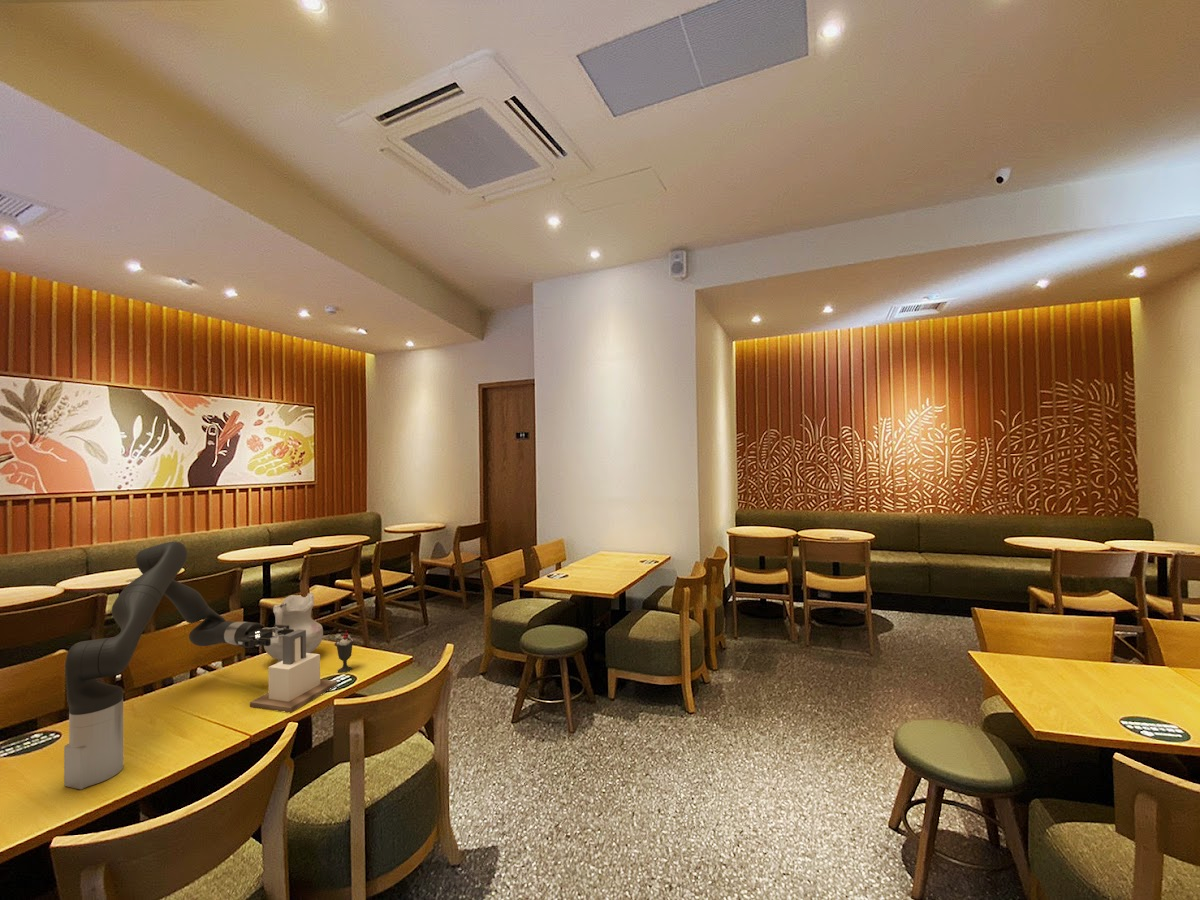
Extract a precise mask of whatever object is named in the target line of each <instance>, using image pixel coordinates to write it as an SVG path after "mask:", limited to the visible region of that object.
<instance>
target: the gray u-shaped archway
mask: <svg viewBox="0 0 1200 900" xmlns="http://www.w3.org/2000/svg"><path fill="white" fill-rule="evenodd" d="M299 637H300V646H301V659H304V658H306V630H300V629H298V630H296V631H293V632H291V633H288V634H286V635H283V664H288V665H291V664H293V640H294V639H297V638H299Z"/></svg>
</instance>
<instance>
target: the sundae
mask: <svg viewBox="0 0 1200 900" xmlns="http://www.w3.org/2000/svg"><path fill="white" fill-rule="evenodd" d="M347 631H348V630H347V629H346V630H345V632H344V633H343V634H342V635H341V636H340V638H339V640H338V641H335V643H334V644H333V645H334V647H336V649H337V656H338V659H339V660H340V661H341V662H342V667H340V668H339V669H337V671H338V672H337V673H339V672H345V673H348V672H347V671H349V672H351V671H352V670H353V669H354V667H353V666H348V659H350V658H351V656H352V653H353V652H352V650H353V645H354V643H355V642H356V640H355V639H354V638H352V637H351V635H350V634H349V633H348V632H347ZM350 670H351V671H350Z"/></svg>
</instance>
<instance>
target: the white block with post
mask: <svg viewBox="0 0 1200 900" xmlns="http://www.w3.org/2000/svg"><path fill="white" fill-rule="evenodd" d="M320 679H321V654H319V653H313V652H311V653H306V658H304V659H301V646H300V637H299V638H297V639H294V640H293V664H291V665H288V664H283V661H281V662H279V663H275V664H272V665H270V666H268V693H269V699H274V700H281V701H288V702H289V701H291V700H293V699H294V698H296V697H298V696H300V695H302V694H303V693H305V692H307V691H309V690H311V689H312V688H314V687H316V686H318V685H320Z"/></svg>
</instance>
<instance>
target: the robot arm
mask: <svg viewBox="0 0 1200 900" xmlns="http://www.w3.org/2000/svg"><path fill="white" fill-rule="evenodd" d="M187 559H188V550H187V547H186V546H185V545H184V544H183V543H181V542H179V541H168V542H163V543H160V544H156V545H153V546H150V547H149V546H148V547H146V548H142V550H139V552H138V553H137V554H136V558H135V563H136V566H137V569H138V570H139V571H140V573H141V575H139V576H138V577H137V578H135V579H134V580H132V581H131V582H130V583H128V584H127V585H126V586H125V587H124V588H123V589H122V590H121V592H120V593H119V595H118V596H117V597H116V599H115V601H114V602H113V604H112V606H111V616H112V618H113V620H114V622H115V623H116V624H117V626H118V627H119V628H120V631H119V633H118V634H117V635H115V636H111V637H105V638H97V639H90V640H89V639H88V640H82V641H79V642H76V643H74V644H73V645H71V647H70V648H69V650H68V652H67V654H66V658H65V662H64V674H65V675H64V676H65V685H66V686H65V687H66V702H67V705H68V710H69V711H68V725H69V726H68V743H67V744H65V745H64V746H63V750H64V751H63V760H64V761H63V765H64V766H63V779H64V781H63V783H64V784H63V786H65V787H69V788H72V789H76V790H83V789H85V788H88V787H90V786H94V785H96V784H99V783H102V782H105V781H107V780H109V779H111V778H113V777H115V776H116V775H118V774H119V773H120V772H121V771H122V770H123V768H124V689H123V688H122V686H119V685H115V684H109V683H105V682H102V681H99V680H98V679H102V678H108V677H112V676H116V675H119V674H121V673H122V672H124V671H125V670H126V668H127V667H128V666H129V663H130V661H132V658H133V656H134V654H135V650H136V649H137V646H138V644H139V641H140V639H141V636H142V634H143V632H144V630H145V629H146V626H147V624H148V623H149V621H150V619H151V617H152V616H153V614H154V613H155V611H156V610H157V609H158V608H157V607H158V606H159V604H160V603H161V602H162V601H161V600H162V599H163V597H164V595H165V597H166V598H167V599H169V600H170V602H171V603H172V604H173V605H174V606H175V608H176V609H177V611H178V613H180V615H181V617H182V618H183V619H184V621H185V622H186V623H188V624H195V623H198V622H200V623H199V624H198V625H197V626H195V627H194V628H192V629H191V631H190V632H189V634H188V639H189V641H190V642H191V643H192V645H195V646H198V647H210V646H214V645H219V644H227V645H229V644H230V645H233V646H237V647H239V648H247V649H252V648H253V649H254V647H260V646H261V647H264V646H269V645H271V639H273V638H277V637H278V636H283V635H286V634H288V633H291V632H293V631H294V630H293V629H289V625H275V624H274V625H273V627H267V626H266V627H265V626H264V625H263V624H262V623H259V622H251V621H234V620H233V621H232V620H231V621H230V620H226V619H225V618H224V616H222V615H220V614H219V613H217V612H216V611H215V610H213V608H211V607H210V606H209V605H208V603H207V602H206V599H204V597H203V595H201V593H200V592H199V591H197V590H196V589H194V588H192V587H190V586H188V585H187V584H184V583H182V582H179V581H177V580H176V579H175V578H176V576H177V575H178V574H179V573H180V571H181V570H182V569H183V568H184V566H185V564H186V562H187ZM201 621H202V622H201ZM273 632H274V633H275V636H273ZM279 633H282V634H279Z"/></svg>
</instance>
